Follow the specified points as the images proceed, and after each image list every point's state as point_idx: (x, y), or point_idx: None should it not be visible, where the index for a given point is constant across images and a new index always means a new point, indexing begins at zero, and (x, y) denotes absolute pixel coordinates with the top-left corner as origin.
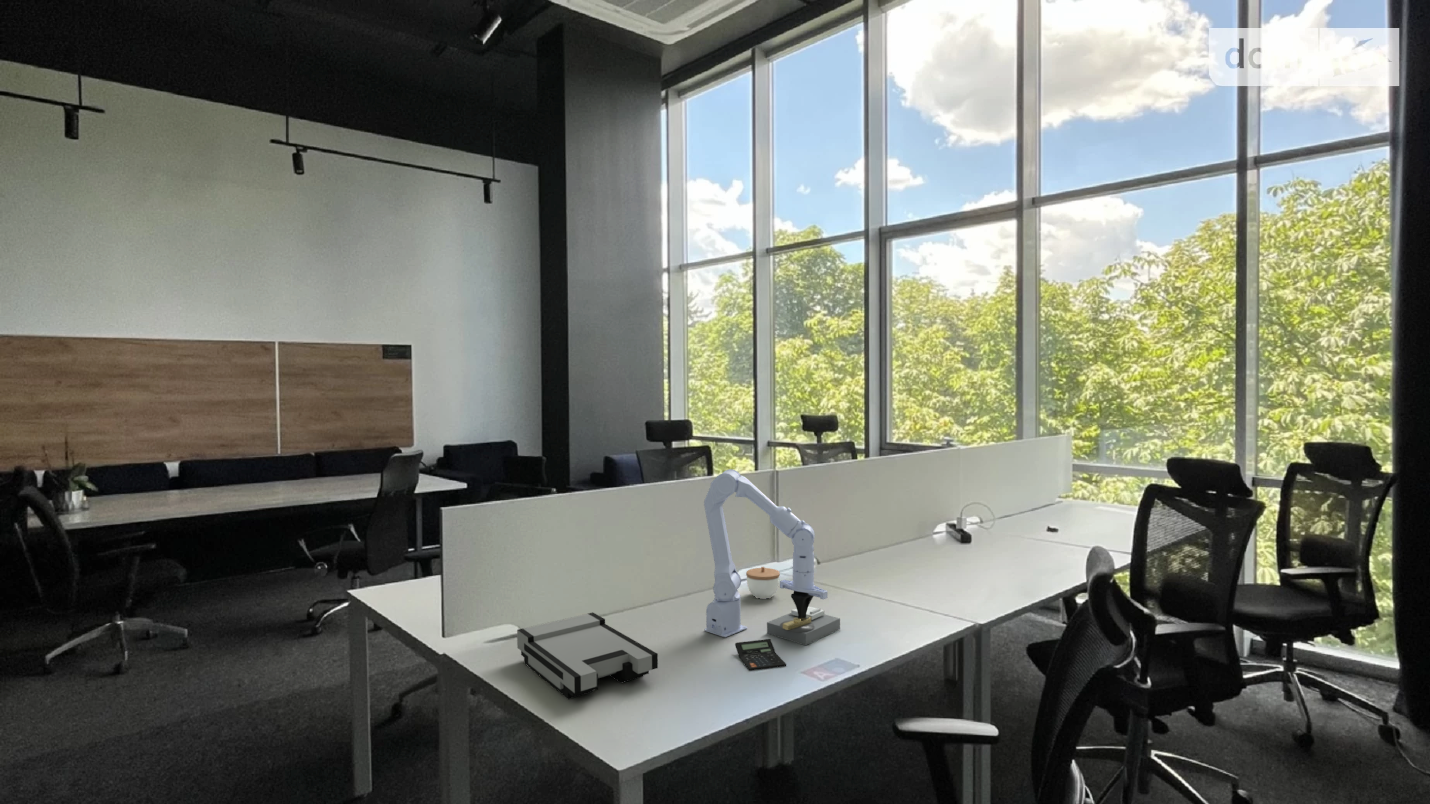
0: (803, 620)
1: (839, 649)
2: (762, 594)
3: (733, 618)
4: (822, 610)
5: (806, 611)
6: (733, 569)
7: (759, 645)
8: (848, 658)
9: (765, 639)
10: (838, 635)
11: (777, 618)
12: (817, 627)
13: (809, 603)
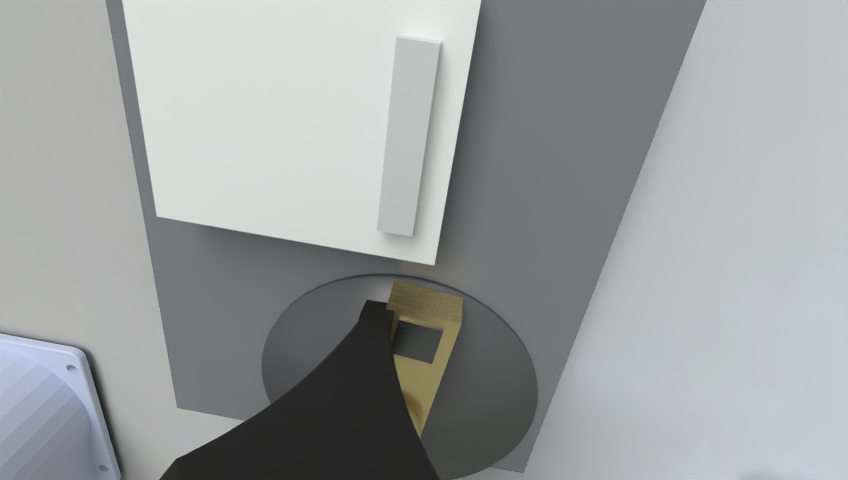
0: (430, 403)
1: (747, 380)
2: None
3: None
4: (459, 9)
5: (391, 347)
6: None
7: None
8: (826, 461)
9: None
10: (685, 148)
11: (166, 316)
12: (554, 346)
13: (409, 416)
